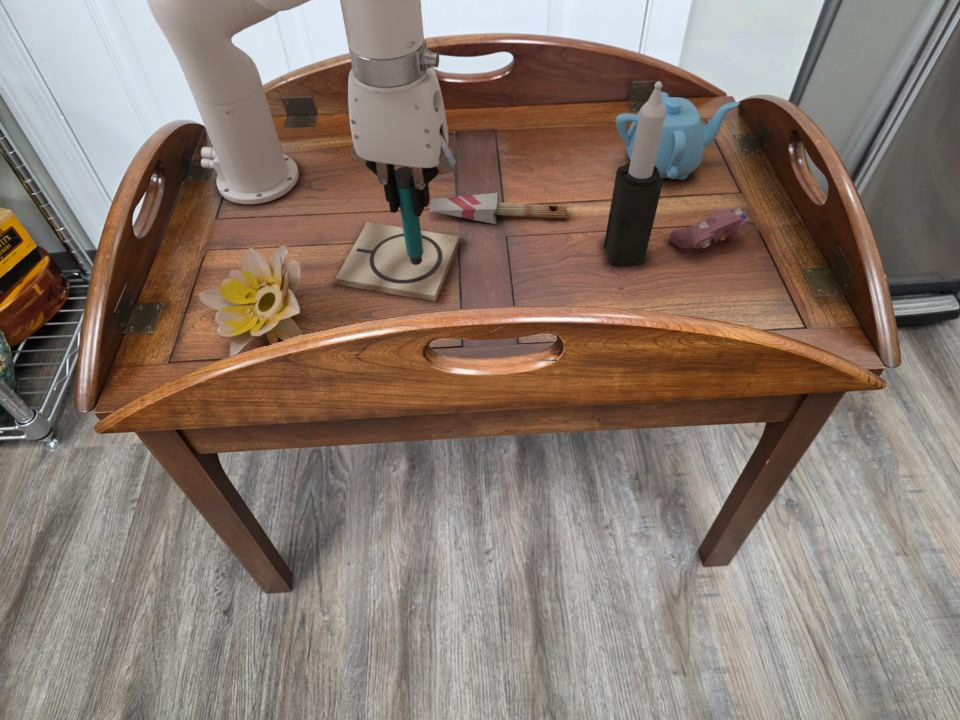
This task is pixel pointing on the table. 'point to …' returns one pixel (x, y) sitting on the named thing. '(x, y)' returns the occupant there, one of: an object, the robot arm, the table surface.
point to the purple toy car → (710, 229)
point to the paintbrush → (492, 208)
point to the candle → (637, 189)
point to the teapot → (677, 135)
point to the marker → (409, 215)
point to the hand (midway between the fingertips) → (408, 206)
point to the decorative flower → (256, 300)
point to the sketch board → (398, 262)
